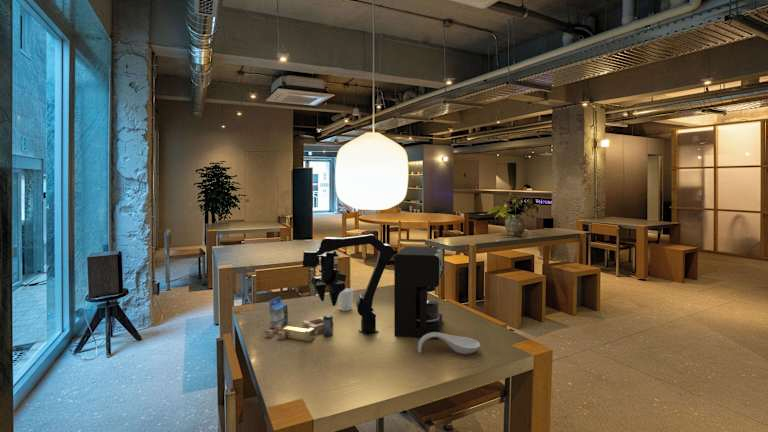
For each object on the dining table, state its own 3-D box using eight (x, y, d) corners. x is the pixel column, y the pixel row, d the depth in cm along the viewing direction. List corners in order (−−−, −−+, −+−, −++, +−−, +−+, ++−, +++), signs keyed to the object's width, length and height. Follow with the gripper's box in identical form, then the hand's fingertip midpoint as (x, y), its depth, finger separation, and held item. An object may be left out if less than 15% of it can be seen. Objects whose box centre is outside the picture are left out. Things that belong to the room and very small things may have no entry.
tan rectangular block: (314, 338, 165) (314, 328, 165) (309, 341, 162) (309, 331, 161) (288, 333, 170) (288, 324, 170) (282, 337, 167) (282, 327, 166)
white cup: (354, 307, 210) (354, 288, 209) (351, 311, 202) (351, 292, 201) (339, 306, 211) (339, 287, 210) (336, 311, 203) (336, 291, 202)
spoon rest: (475, 345, 159) (475, 327, 158) (483, 357, 147) (484, 338, 146) (416, 346, 158) (416, 328, 158) (419, 358, 146) (419, 339, 146)
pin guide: (294, 333, 171) (293, 327, 171) (283, 339, 164) (283, 333, 164) (276, 330, 175) (275, 324, 174) (265, 336, 168) (265, 330, 168)
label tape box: (277, 328, 177) (276, 301, 176) (269, 327, 178) (269, 300, 178) (288, 322, 185) (287, 296, 185) (280, 321, 187) (280, 295, 186)
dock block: (333, 330, 175) (333, 322, 175) (313, 335, 169) (312, 327, 169) (322, 324, 183) (322, 316, 183) (302, 328, 177) (302, 321, 177)
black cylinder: (334, 335, 169) (334, 317, 168) (326, 337, 166) (326, 318, 166) (329, 332, 172) (329, 314, 171) (321, 335, 169) (321, 316, 169)
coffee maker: (439, 343, 160) (440, 256, 158) (391, 339, 164) (391, 255, 162) (443, 320, 188) (444, 246, 185) (402, 318, 191) (402, 245, 189)
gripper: (356, 267, 167) (356, 304, 168) (332, 261, 182) (332, 295, 183) (333, 271, 160) (333, 309, 161) (310, 264, 175) (310, 299, 176)
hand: (328, 303), depth 171 cm, fingers open, 9 cm apart
